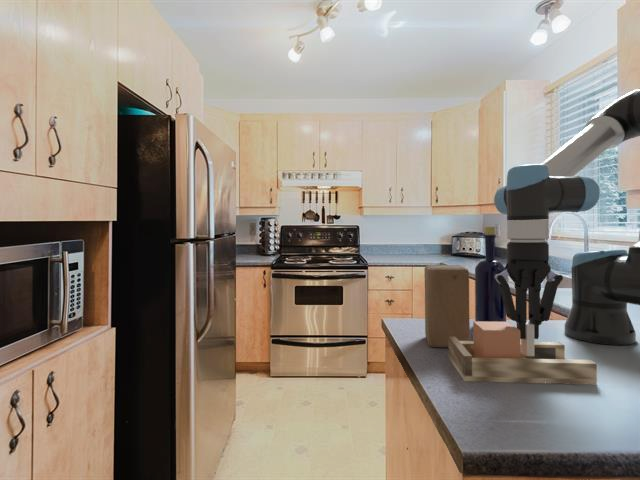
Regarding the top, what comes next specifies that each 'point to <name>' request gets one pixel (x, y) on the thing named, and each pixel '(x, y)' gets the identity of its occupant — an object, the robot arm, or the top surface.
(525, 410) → the top surface
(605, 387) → the top surface
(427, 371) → the top surface
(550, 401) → the top surface
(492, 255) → the bottle
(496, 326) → the terracotta block
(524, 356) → the wooden tray
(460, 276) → the wooden block
